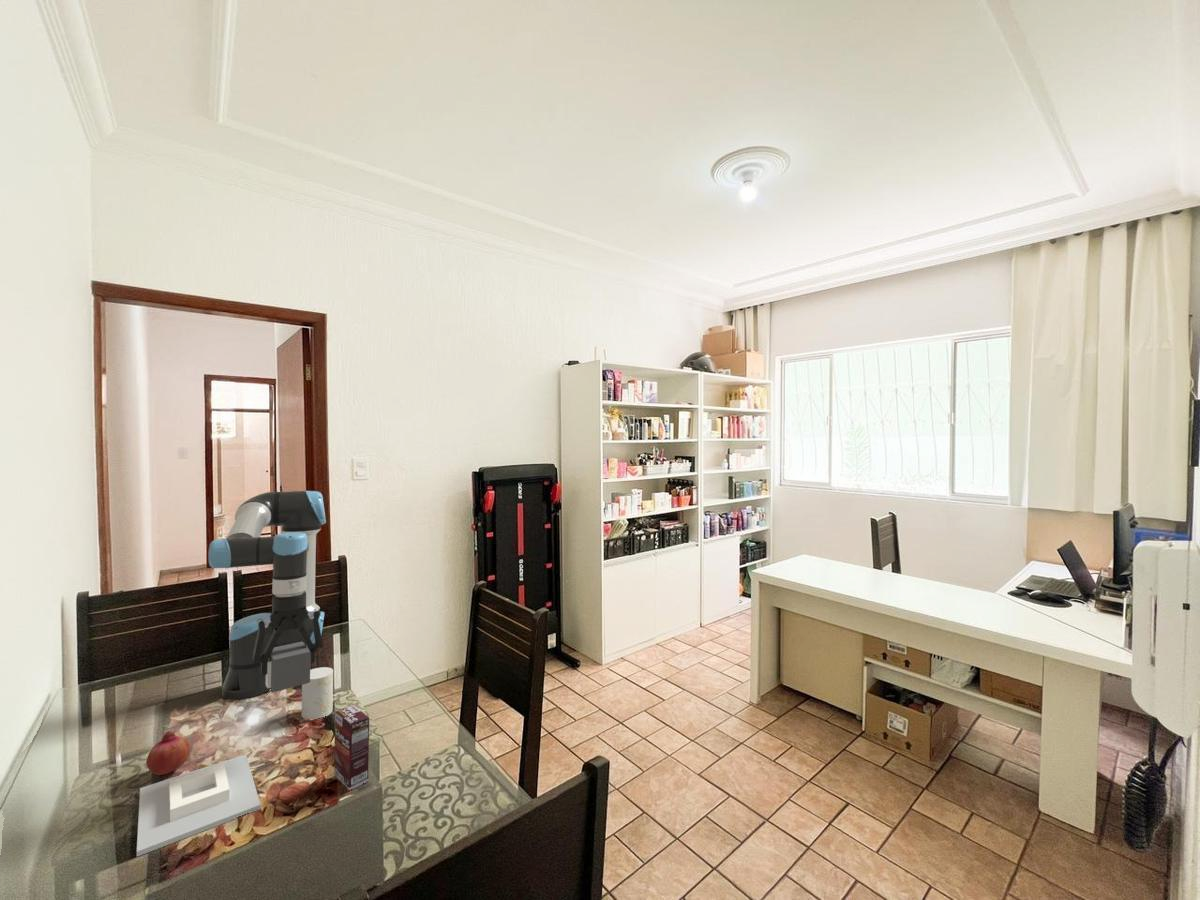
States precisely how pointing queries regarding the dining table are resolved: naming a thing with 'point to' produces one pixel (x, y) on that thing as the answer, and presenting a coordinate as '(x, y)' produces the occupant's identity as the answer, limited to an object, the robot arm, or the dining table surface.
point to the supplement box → (351, 747)
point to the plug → (290, 666)
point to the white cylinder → (318, 694)
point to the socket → (194, 803)
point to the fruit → (168, 754)
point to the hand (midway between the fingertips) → (288, 680)
